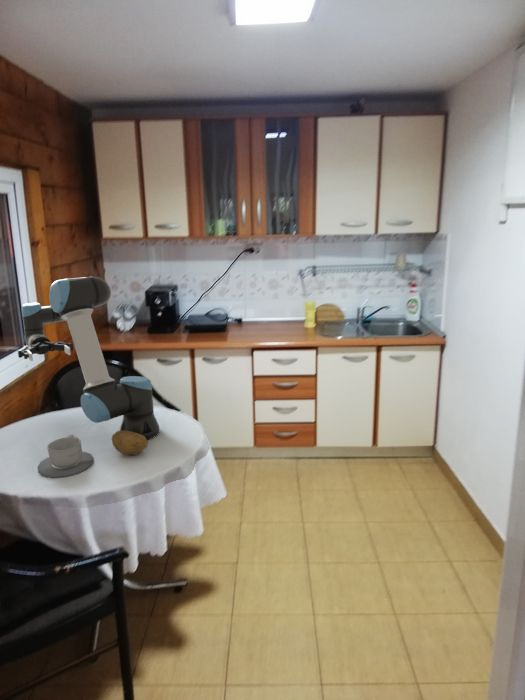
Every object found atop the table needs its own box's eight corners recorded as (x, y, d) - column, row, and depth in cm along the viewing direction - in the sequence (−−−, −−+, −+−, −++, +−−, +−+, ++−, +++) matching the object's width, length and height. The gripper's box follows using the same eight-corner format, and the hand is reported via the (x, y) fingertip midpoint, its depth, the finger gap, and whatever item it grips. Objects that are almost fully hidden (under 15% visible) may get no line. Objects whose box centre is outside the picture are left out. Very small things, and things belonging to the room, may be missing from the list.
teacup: (74, 472, 164) (71, 449, 162) (43, 471, 165) (40, 449, 163) (92, 453, 177) (90, 432, 175) (63, 452, 178) (60, 432, 176)
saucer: (102, 454, 179) (102, 451, 178) (78, 479, 161) (78, 476, 161) (55, 452, 181) (55, 449, 181) (27, 476, 164) (26, 473, 163)
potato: (137, 462, 172) (135, 441, 170) (106, 455, 178) (104, 434, 176) (155, 451, 181) (153, 431, 179) (125, 444, 187) (123, 424, 185)
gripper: (71, 348, 213) (85, 358, 196) (7, 357, 199) (16, 369, 182) (70, 331, 211) (83, 340, 194) (5, 339, 197) (13, 349, 180)
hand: (50, 354), depth 188 cm, fingers open, 13 cm apart
